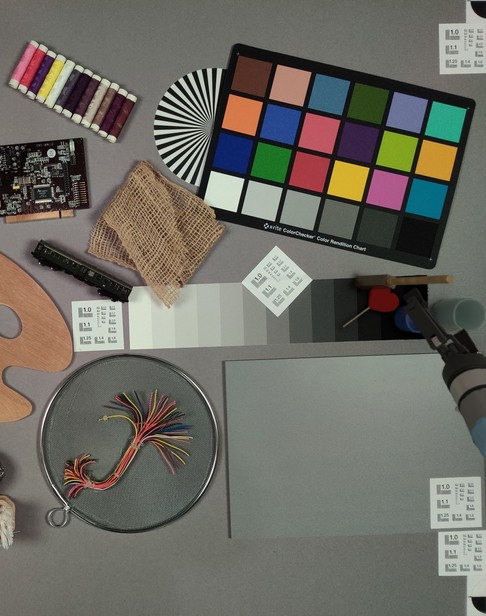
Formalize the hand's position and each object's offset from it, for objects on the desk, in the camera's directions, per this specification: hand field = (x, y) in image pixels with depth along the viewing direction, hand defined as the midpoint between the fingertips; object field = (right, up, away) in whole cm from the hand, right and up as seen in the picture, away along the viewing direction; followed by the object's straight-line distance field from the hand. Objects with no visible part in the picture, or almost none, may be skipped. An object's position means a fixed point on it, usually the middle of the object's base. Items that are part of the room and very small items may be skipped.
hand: (434, 313), depth 112 cm
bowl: (+13, -1, +32) cm, 34 cm away
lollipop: (+3, +1, +31) cm, 32 cm away
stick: (+1, +7, +17) cm, 19 cm away
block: (+1, +7, +31) cm, 32 cm away
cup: (+21, 0, +32) cm, 38 cm away
